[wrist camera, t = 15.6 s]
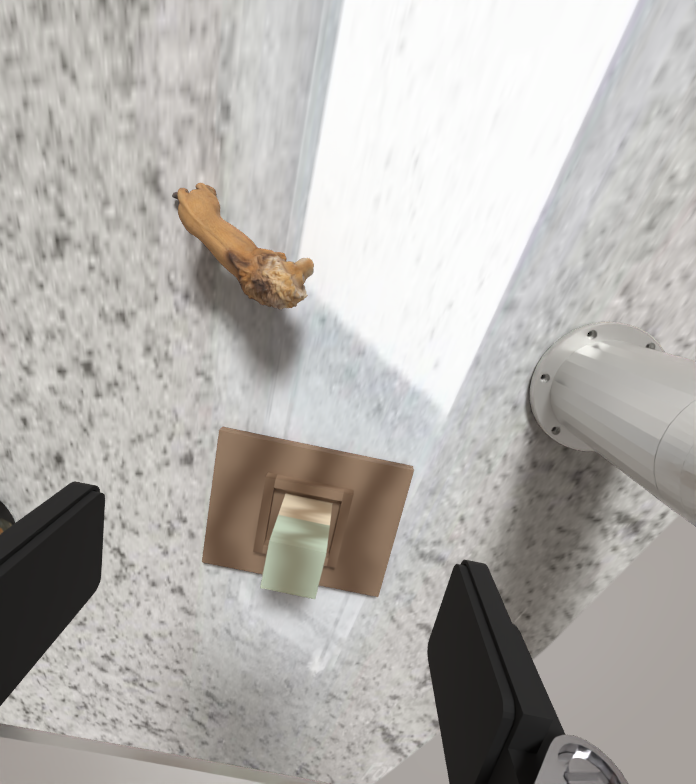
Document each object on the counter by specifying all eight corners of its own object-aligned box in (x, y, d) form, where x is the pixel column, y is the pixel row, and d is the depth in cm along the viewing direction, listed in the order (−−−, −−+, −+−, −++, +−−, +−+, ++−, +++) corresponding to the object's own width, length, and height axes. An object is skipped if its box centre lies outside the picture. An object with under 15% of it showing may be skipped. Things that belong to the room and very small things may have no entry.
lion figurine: (330, 269, 38) (321, 268, 29) (299, 317, 39) (281, 330, 31) (189, 169, 36) (135, 136, 27) (161, 223, 37) (101, 209, 29)
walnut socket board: (412, 466, 43) (415, 475, 41) (377, 590, 47) (378, 603, 46) (222, 426, 42) (215, 434, 41) (205, 556, 47) (198, 568, 45)
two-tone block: (332, 503, 43) (326, 552, 36) (322, 543, 45) (315, 599, 37) (285, 493, 43) (269, 541, 36) (277, 533, 45) (260, 587, 37)
